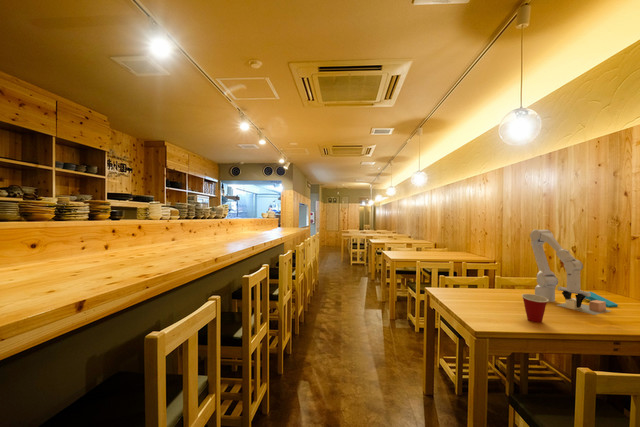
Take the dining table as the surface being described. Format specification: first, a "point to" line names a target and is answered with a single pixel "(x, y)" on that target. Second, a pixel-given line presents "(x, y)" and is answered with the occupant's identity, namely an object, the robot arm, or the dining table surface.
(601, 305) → the terracotta base brick
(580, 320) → the dining table surface
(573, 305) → the cream brick
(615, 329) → the dining table surface
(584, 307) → the slate baseplate
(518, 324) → the dining table surface
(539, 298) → the plastic cup
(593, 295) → the teal bar
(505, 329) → the dining table surface
